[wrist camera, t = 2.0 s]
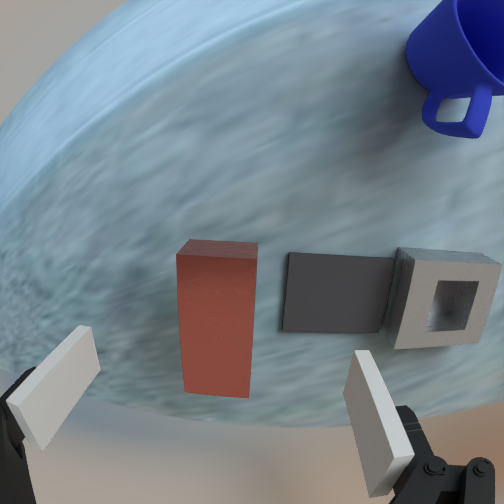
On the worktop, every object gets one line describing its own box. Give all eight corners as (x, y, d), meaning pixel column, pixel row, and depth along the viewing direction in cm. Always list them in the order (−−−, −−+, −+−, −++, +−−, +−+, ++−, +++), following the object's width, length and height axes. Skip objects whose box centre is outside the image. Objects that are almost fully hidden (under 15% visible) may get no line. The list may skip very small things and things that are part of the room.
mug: (368, 115, 22) (426, 94, 13) (406, 8, 19) (459, -40, 9) (446, 161, 23) (522, 170, 13) (476, 56, 19) (542, 33, 10)
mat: (282, 327, 28) (282, 331, 27) (289, 252, 26) (289, 254, 25) (376, 329, 27) (378, 332, 27) (391, 258, 25) (394, 260, 25)
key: (209, 318, 28) (184, 392, 18) (209, 217, 25) (176, 254, 16) (254, 321, 28) (249, 398, 18) (259, 219, 25) (256, 259, 15)
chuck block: (381, 329, 27) (393, 349, 24) (398, 247, 25) (415, 259, 22) (462, 326, 27) (478, 342, 24) (481, 253, 25) (502, 264, 22)
